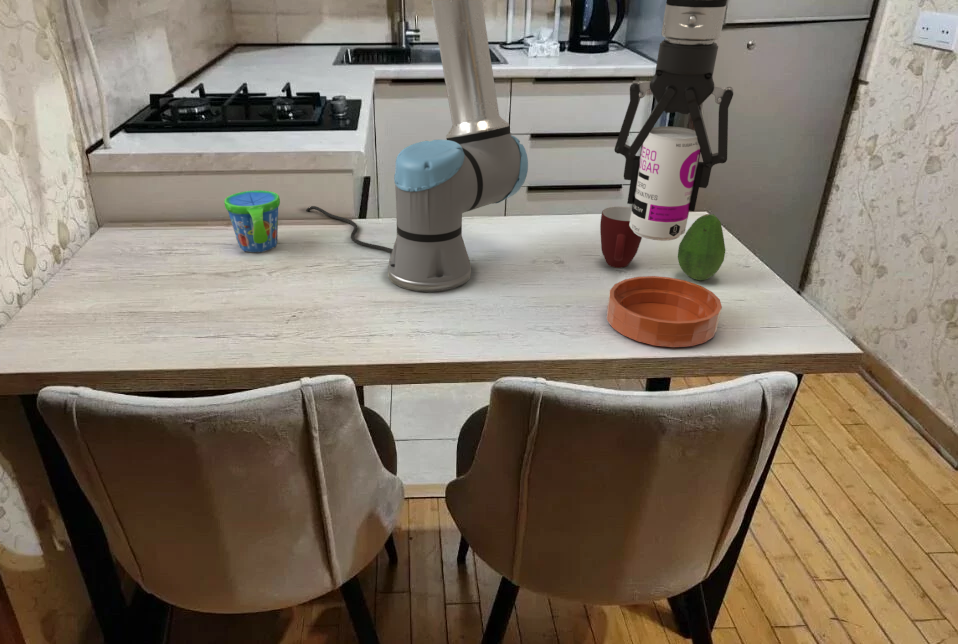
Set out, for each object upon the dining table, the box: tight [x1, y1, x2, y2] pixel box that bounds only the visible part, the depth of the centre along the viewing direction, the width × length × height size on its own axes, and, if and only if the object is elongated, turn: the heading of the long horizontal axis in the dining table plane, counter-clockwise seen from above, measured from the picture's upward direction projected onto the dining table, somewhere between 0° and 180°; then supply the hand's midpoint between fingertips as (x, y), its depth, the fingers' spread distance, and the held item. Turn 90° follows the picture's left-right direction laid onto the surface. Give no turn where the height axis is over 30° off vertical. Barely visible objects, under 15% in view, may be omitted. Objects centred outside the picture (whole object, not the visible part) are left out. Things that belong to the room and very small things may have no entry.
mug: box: [599, 206, 643, 269], centre depth 134 cm, size 10×8×10 cm
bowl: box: [606, 275, 723, 348], centre depth 116 cm, size 17×17×4 cm
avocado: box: [677, 213, 726, 281], centre depth 129 cm, size 8×8×12 cm
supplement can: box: [629, 125, 701, 242], centre depth 107 cm, size 8×8×15 cm
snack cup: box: [224, 189, 281, 253], centre depth 144 cm, size 16×10×10 cm
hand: (661, 204), depth 108 cm, fingers closed on supplement can, 8 cm apart
